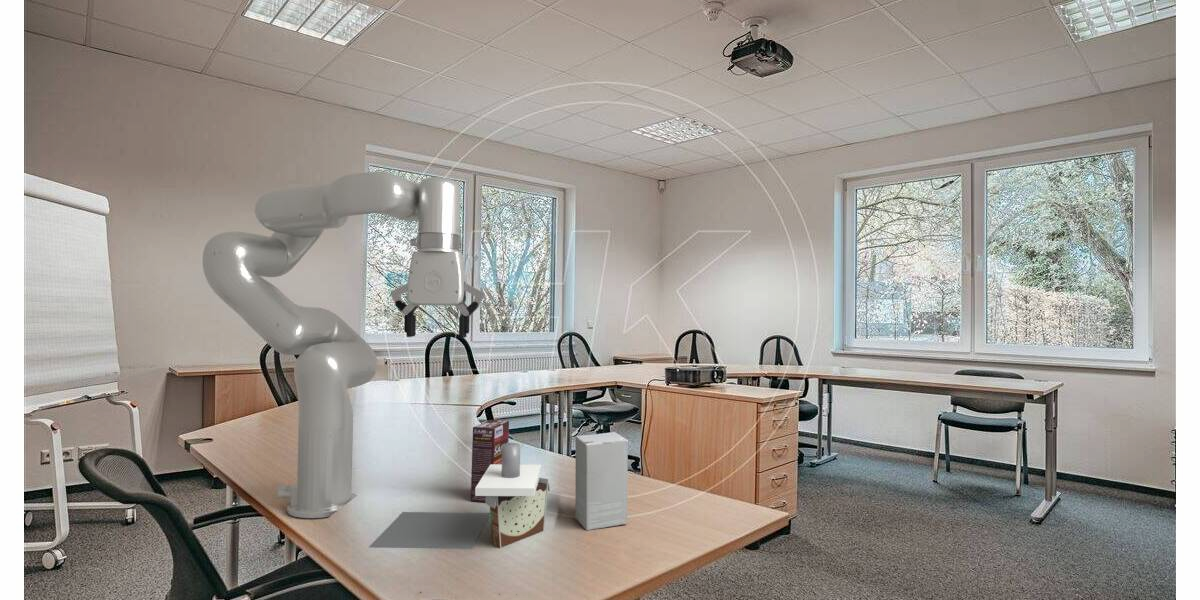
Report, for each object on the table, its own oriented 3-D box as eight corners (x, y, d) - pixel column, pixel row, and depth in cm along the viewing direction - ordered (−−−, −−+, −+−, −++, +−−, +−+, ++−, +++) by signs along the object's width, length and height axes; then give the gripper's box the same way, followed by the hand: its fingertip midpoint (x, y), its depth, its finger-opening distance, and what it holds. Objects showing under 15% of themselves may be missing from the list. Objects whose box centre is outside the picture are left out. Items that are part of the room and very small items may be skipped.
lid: (475, 495, 90) (475, 455, 90) (490, 471, 104) (490, 436, 104) (534, 496, 91) (534, 455, 91) (541, 471, 105) (541, 436, 105)
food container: (524, 528, 104) (525, 471, 104) (549, 537, 100) (550, 478, 100) (468, 549, 95) (469, 487, 95) (493, 560, 91) (494, 495, 91)
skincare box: (614, 514, 112) (615, 430, 113) (629, 527, 106) (631, 438, 106) (572, 519, 109) (573, 433, 109) (585, 532, 103) (586, 441, 103)
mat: (368, 556, 91) (368, 547, 91) (402, 520, 107) (402, 511, 107) (471, 558, 91) (472, 548, 91) (490, 521, 107) (490, 513, 107)
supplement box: (492, 511, 113) (494, 428, 113) (469, 509, 114) (470, 426, 114) (508, 497, 121) (510, 420, 121) (486, 496, 122) (488, 419, 122)
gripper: (385, 242, 106) (383, 337, 106) (481, 243, 107) (479, 338, 106) (399, 246, 114) (397, 335, 114) (488, 248, 114) (487, 336, 114)
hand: (436, 337), depth 110 cm, fingers open, 9 cm apart
